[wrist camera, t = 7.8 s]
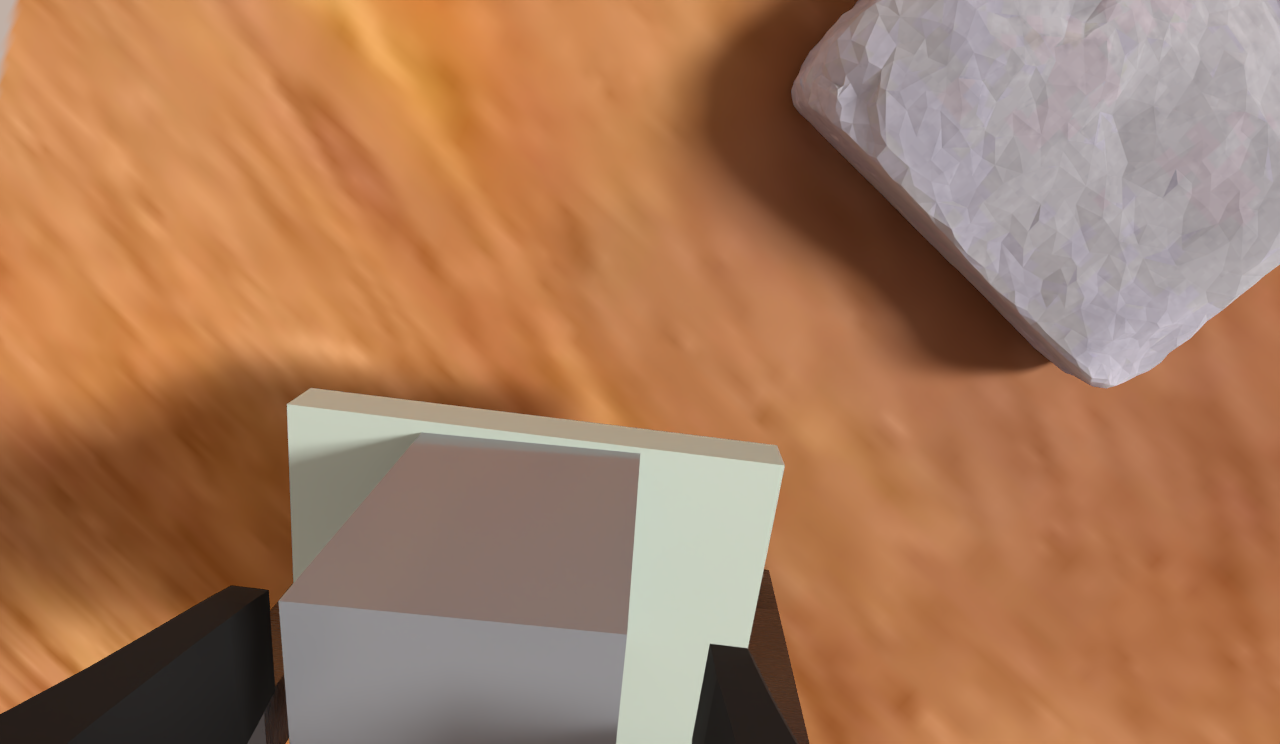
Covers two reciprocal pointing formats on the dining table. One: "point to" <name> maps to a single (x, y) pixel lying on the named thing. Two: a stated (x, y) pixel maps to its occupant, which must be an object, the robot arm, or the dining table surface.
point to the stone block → (1070, 156)
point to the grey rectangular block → (469, 601)
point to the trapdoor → (663, 541)
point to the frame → (762, 645)
